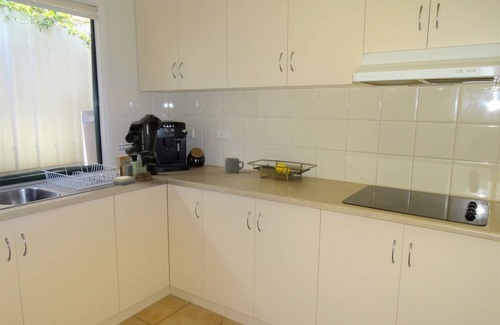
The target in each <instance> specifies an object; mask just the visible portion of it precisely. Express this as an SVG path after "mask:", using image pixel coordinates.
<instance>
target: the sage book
mask: <svg viewBox="0 0 500 325" xmlns="http://www.w3.org/2000/svg"><path fill="white" fill-rule="evenodd" d="M131 165H132V166H133V177H134V178H135V174H139V173H145V172H147V166H146V164H145V166H144V167H142V161H141V160H137V161H135V162H132V164H131Z"/></svg>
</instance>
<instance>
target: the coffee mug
mask: <svg viewBox="0 0 500 325" xmlns="http://www.w3.org/2000/svg"><path fill="white" fill-rule="evenodd" d="M240 164H241V166H240ZM244 167H245V163H244V161H242V160H240V159H239V157H225V158H224V173H225V174H233V175H234V174H238V173H240V171H241V170H242V169H244Z"/></svg>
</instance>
